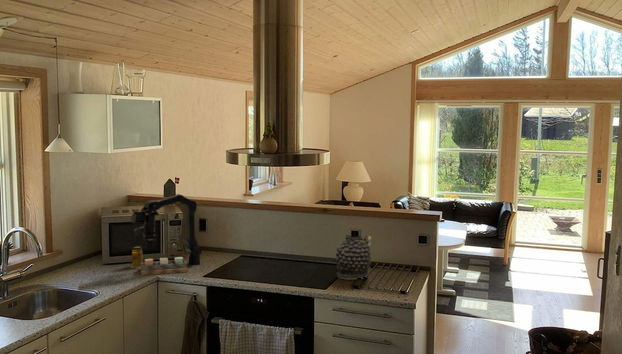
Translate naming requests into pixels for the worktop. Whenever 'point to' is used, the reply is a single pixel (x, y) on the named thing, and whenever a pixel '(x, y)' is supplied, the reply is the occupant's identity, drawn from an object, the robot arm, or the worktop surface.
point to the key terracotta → (148, 262)
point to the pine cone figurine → (353, 257)
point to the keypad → (163, 268)
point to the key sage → (178, 260)
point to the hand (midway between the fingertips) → (148, 249)
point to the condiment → (137, 257)
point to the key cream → (163, 261)
